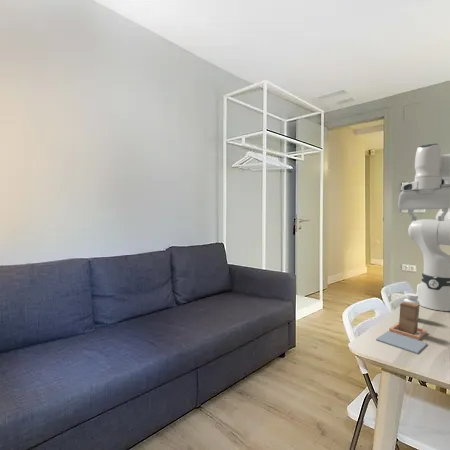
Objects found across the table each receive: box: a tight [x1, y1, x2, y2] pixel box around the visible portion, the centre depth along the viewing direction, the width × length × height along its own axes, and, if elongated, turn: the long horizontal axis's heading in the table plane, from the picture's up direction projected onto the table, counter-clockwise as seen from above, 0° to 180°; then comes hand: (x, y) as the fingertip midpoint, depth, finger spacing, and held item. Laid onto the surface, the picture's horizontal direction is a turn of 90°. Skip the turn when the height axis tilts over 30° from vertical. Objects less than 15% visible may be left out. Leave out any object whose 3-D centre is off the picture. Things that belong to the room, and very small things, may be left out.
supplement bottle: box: [403, 292, 420, 319], centre depth 122 cm, size 5×5×10 cm
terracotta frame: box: [388, 321, 427, 341], centre depth 109 cm, size 9×9×1 cm
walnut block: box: [398, 301, 420, 335], centre depth 109 cm, size 4×4×10 cm
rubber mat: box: [375, 330, 428, 355], centre depth 100 cm, size 10×12×1 cm
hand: (426, 221), depth 120 cm, fingers open, 8 cm apart
